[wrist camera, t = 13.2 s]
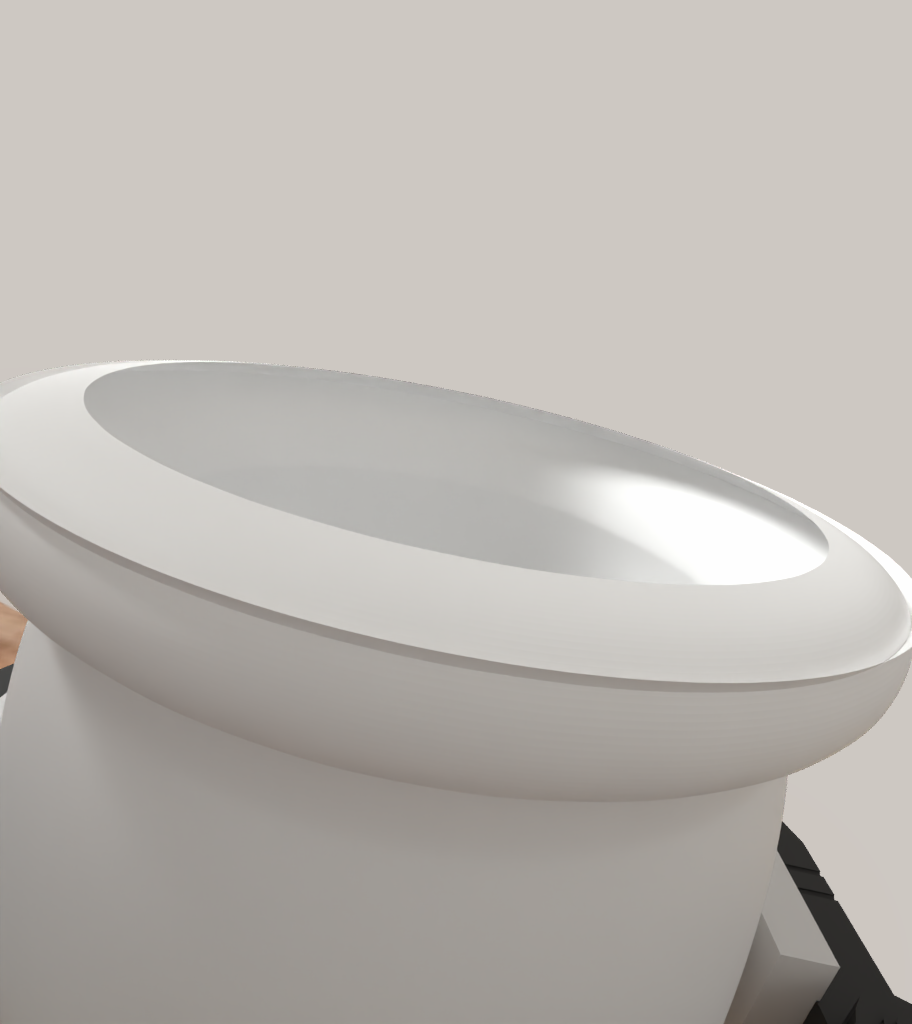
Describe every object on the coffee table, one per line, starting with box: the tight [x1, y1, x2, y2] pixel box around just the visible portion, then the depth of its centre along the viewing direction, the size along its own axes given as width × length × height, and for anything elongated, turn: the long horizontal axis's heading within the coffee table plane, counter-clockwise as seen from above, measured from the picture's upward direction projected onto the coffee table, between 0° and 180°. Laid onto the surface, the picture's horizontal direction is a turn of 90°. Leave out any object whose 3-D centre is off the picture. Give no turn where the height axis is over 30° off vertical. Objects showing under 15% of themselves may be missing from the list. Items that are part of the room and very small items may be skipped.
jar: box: [0, 360, 912, 1024], centre depth 10 cm, size 11×10×15 cm
